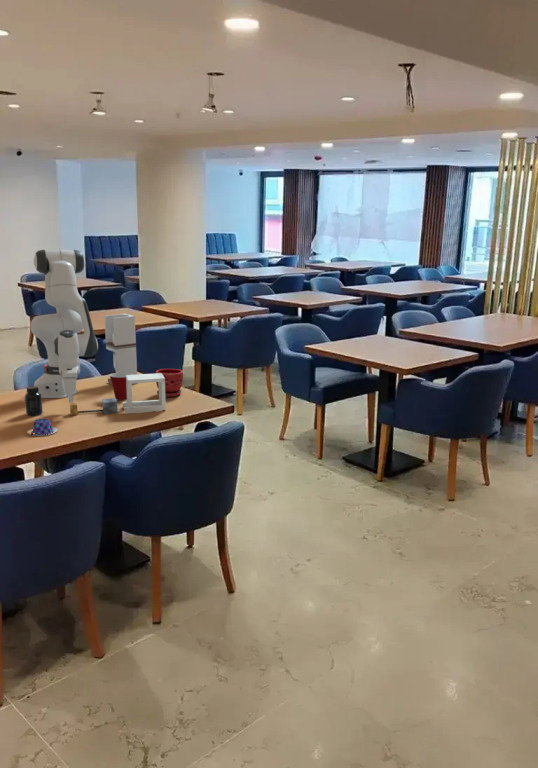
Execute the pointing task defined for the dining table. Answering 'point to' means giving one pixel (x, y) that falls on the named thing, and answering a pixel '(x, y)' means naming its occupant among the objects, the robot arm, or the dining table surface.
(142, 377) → the shelf
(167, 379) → the plant pot
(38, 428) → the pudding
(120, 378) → the plastic cup
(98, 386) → the dining table surface
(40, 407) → the supplement bottle
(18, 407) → the dining table surface
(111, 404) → the grey mallet
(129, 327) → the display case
